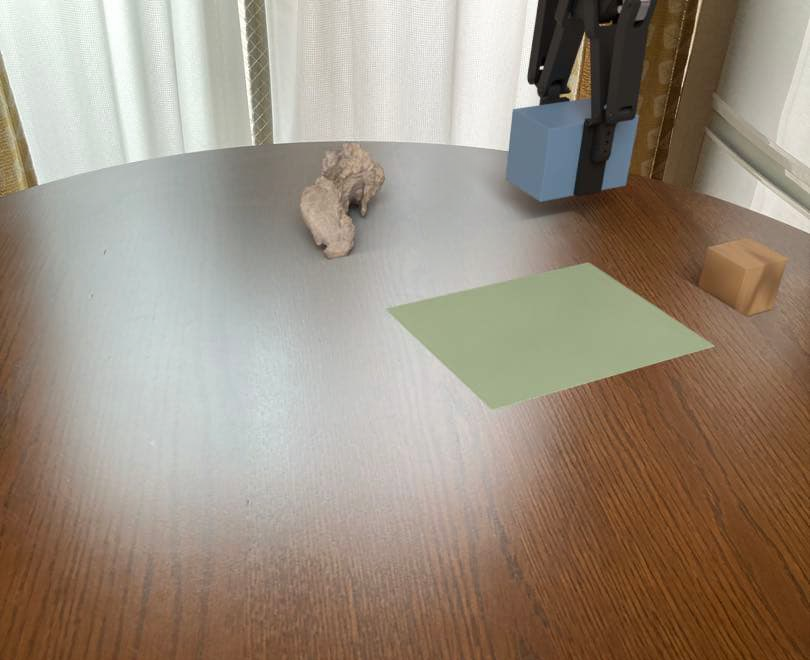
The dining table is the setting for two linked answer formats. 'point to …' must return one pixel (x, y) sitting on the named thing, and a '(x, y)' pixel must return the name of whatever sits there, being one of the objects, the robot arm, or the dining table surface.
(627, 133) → the sponge
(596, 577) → the dining table surface
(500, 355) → the tray
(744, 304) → the cork block
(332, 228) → the rock
